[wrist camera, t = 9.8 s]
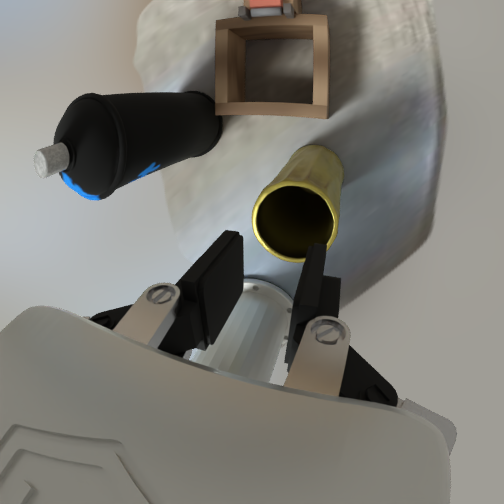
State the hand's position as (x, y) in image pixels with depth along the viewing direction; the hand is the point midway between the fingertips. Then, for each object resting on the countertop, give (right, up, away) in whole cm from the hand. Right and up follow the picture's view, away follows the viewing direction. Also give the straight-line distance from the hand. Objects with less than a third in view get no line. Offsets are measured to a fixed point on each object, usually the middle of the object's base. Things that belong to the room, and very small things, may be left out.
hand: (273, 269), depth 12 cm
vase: (+6, +9, +16) cm, 19 cm away
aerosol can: (-8, +16, +17) cm, 25 cm away
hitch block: (+2, +23, +9) cm, 25 cm away
